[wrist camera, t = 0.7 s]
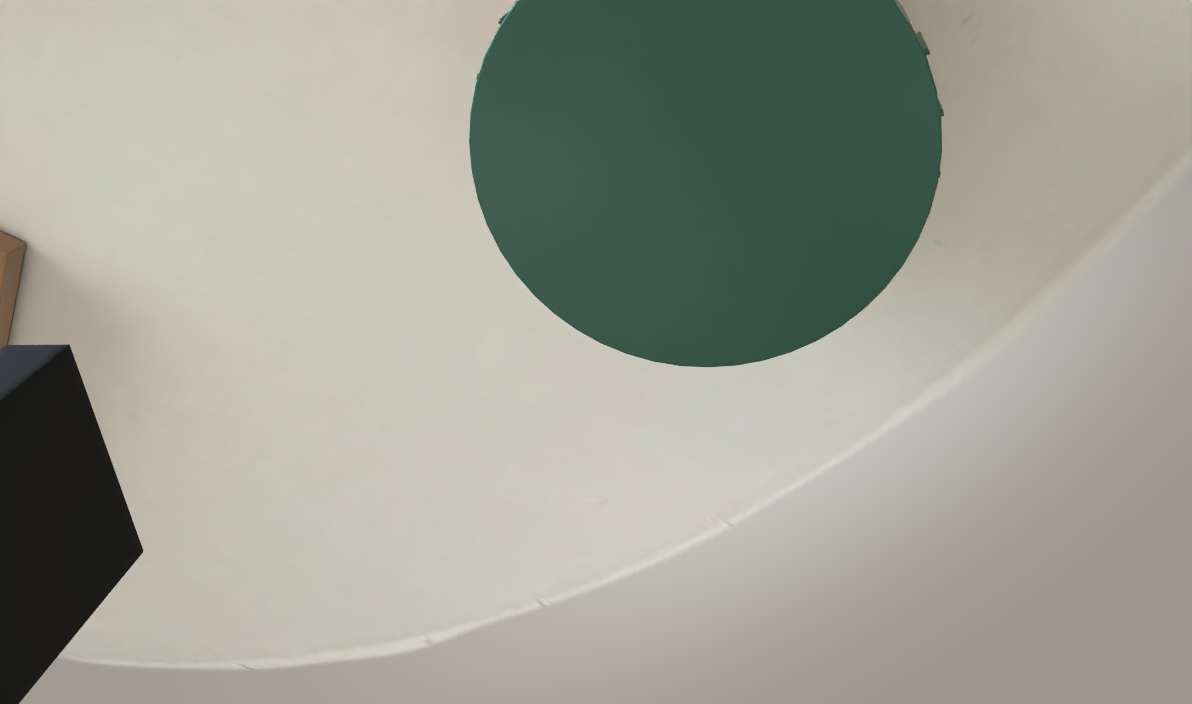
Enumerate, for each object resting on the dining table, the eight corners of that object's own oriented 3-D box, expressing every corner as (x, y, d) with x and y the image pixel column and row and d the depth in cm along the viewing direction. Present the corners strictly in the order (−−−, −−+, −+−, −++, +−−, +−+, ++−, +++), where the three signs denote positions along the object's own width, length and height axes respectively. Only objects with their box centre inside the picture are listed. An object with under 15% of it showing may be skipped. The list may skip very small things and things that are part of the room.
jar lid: (789, 391, 23) (790, 437, 21) (431, 217, 22) (403, 251, 21) (1028, 30, 19) (1050, 55, 17) (597, -195, 18) (578, -191, 17)
